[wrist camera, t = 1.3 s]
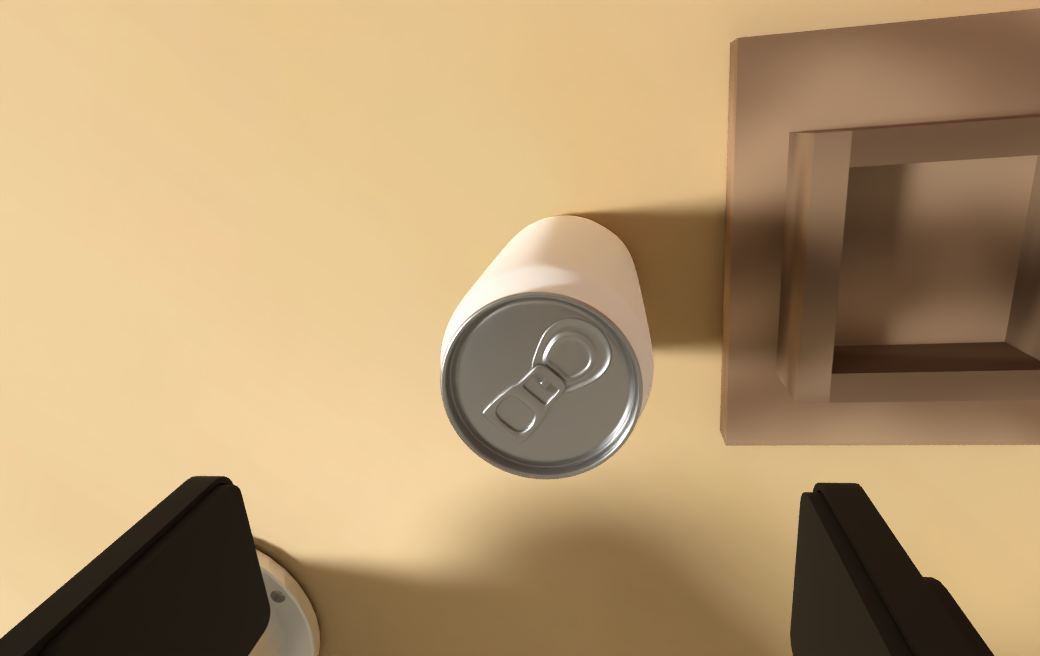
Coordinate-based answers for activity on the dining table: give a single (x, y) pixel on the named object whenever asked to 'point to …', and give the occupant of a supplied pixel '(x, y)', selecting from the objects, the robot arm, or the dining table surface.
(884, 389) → the caddy
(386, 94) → the dining table surface
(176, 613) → the robot arm
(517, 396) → the can
